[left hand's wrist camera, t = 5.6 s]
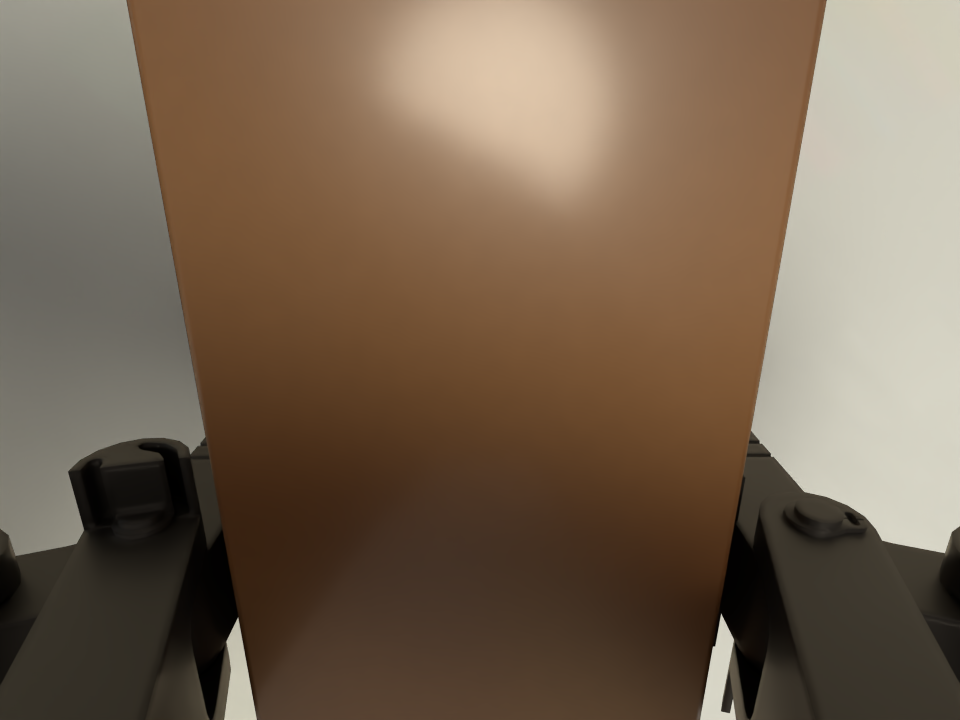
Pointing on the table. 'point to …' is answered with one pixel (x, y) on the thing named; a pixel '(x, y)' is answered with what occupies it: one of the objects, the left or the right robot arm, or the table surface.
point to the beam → (477, 332)
